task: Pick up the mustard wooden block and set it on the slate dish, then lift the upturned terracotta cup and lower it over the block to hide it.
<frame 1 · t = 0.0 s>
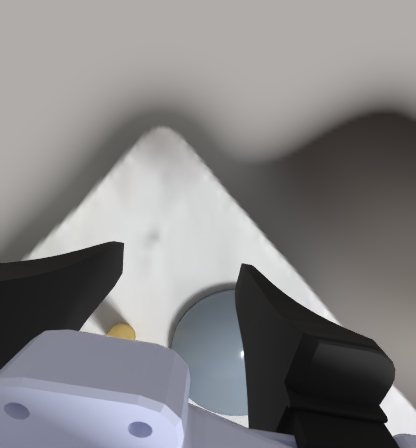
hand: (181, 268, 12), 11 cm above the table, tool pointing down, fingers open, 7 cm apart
dish: (236, 350, 24), on the table
block: (122, 335, 24), on the table
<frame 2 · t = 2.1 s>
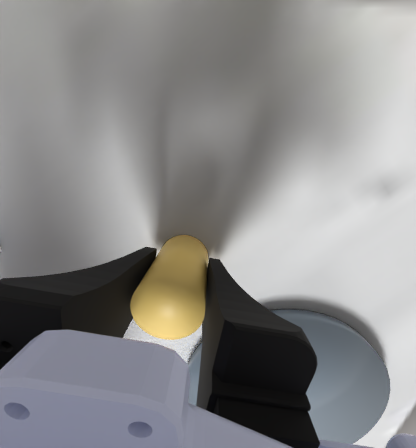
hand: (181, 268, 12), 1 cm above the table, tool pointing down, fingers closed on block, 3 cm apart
dish: (278, 388, 16), on the table
block: (184, 257, 13), on the table, touching gripper
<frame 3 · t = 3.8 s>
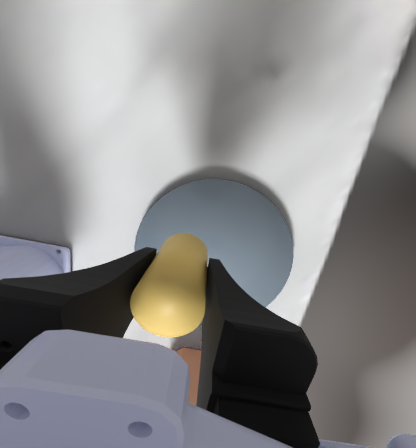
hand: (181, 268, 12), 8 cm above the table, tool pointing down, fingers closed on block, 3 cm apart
cup: (189, 365, 25), on the table
dish: (213, 255, 21), on the table
block: (184, 255, 13), point 7 cm above the table, touching gripper
when the fingers open (4 cm above the table, at t = 5.3 s): block drops 1 cm, resting on dish.
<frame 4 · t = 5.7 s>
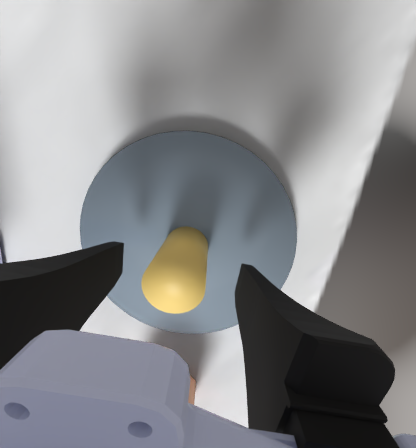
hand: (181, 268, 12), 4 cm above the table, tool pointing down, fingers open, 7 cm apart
dish: (188, 243, 15), on the table
block: (186, 246, 14), point 1 cm above the table, touching dish
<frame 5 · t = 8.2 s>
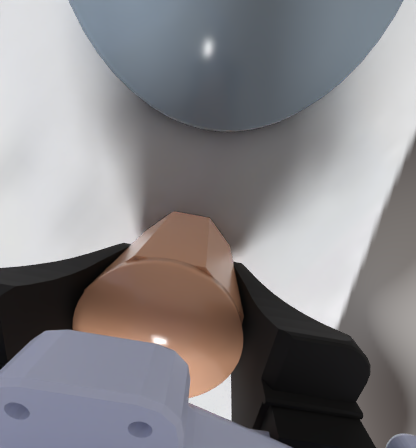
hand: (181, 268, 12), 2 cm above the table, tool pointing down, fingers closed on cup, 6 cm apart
cup: (185, 254, 14), on the table, touching gripper
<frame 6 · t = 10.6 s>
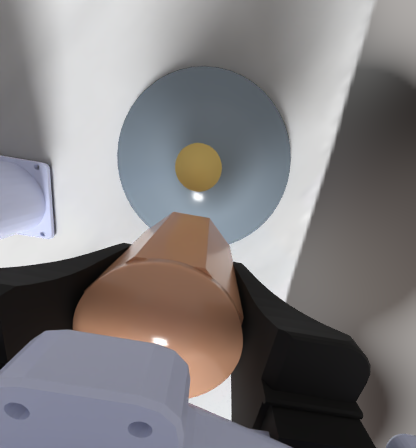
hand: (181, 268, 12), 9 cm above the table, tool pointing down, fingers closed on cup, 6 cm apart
cup: (185, 254, 14), point 7 cm above the table, touching gripper
dish: (203, 168, 19), on the table
block: (202, 167, 18), point 1 cm above the table, touching dish
when the fingers open (4 cm above the table, at t = 13.0 s): cup stays where it is, resting on dish.
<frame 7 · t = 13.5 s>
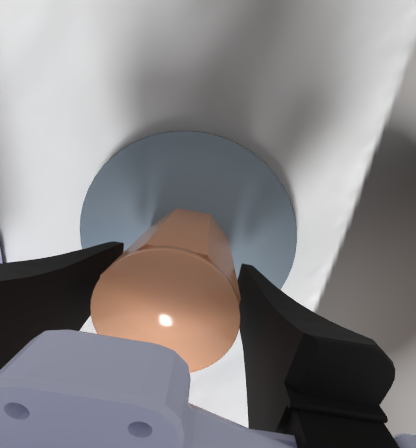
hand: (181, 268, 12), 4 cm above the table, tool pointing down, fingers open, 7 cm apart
cup: (187, 248, 15), point 1 cm above the table, touching dish
dish: (188, 243, 15), on the table
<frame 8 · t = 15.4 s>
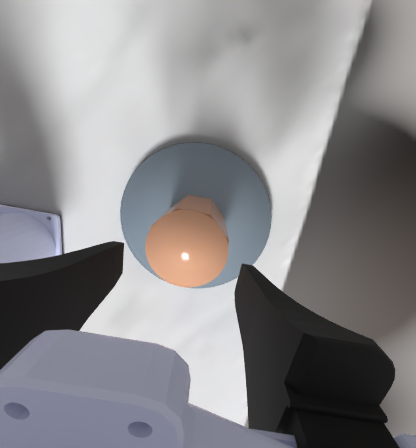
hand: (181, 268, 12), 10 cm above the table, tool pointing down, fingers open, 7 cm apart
cup: (195, 223, 21), point 1 cm above the table, touching dish
dish: (196, 220, 22), on the table
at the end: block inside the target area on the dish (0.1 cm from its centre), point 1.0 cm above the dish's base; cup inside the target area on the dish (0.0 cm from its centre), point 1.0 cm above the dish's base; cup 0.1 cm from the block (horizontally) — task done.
